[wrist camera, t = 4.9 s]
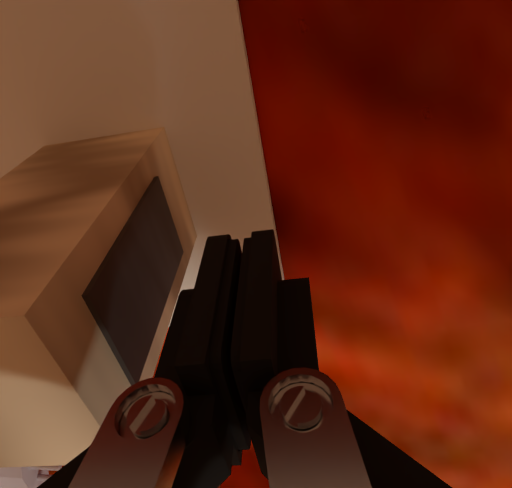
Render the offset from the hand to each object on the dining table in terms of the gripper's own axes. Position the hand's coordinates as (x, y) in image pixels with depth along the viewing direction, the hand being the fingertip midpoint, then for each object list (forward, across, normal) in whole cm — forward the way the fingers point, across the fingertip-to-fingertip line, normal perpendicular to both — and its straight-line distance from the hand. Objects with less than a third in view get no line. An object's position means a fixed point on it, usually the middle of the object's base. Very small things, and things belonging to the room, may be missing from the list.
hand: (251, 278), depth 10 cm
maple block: (+7, +6, 0) cm, 9 cm away
